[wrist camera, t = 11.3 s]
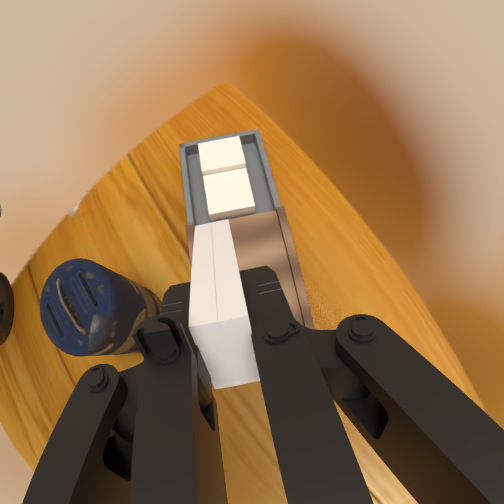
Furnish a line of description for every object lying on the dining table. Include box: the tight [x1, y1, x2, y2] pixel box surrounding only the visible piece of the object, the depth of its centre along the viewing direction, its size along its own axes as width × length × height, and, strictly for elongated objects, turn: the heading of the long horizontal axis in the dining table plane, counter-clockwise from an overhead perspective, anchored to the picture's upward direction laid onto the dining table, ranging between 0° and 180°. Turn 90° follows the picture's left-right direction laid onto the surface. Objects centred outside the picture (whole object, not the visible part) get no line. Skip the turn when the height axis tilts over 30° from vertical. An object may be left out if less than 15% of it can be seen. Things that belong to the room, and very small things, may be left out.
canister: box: [40, 259, 162, 356], centre depth 30 cm, size 10×10×18 cm
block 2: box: [203, 168, 255, 222], centre depth 40 cm, size 6×6×5 cm
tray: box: [179, 129, 281, 226], centre depth 43 cm, size 15×13×3 cm
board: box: [186, 206, 315, 330], centre depth 37 cm, size 18×13×5 cm
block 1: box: [198, 136, 246, 176], centre depth 41 cm, size 6×6×5 cm
